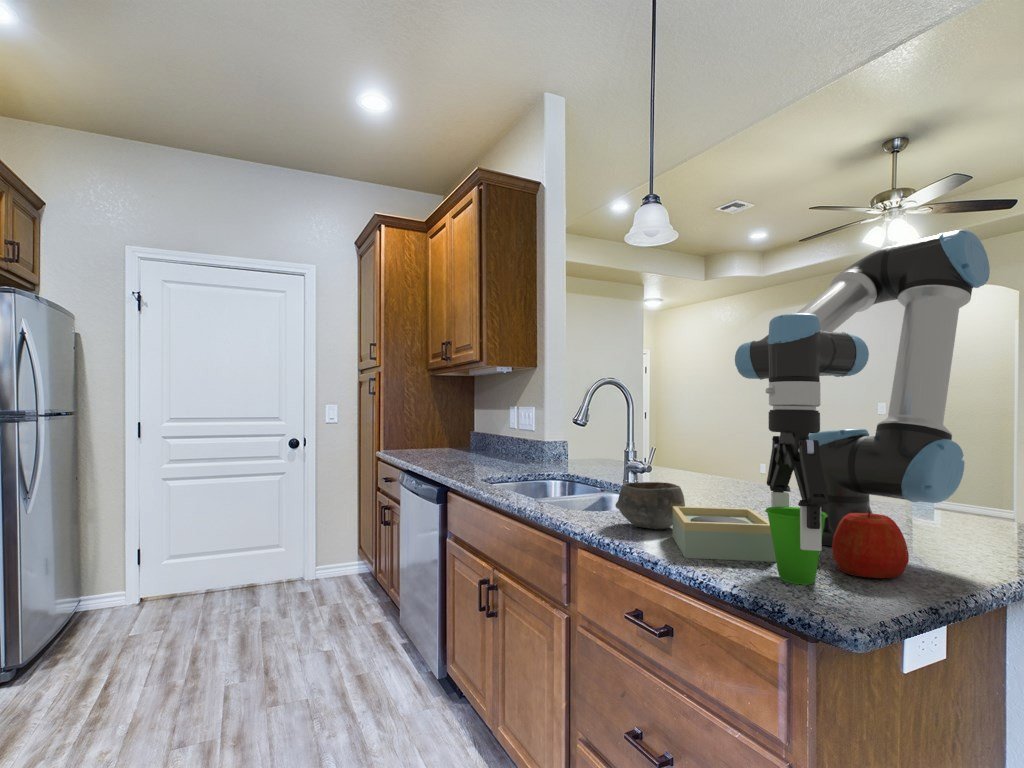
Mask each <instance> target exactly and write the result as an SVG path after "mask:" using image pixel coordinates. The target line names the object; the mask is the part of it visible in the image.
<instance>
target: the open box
mask: <svg viewBox="0 0 1024 768" xmlns="http://www.w3.org/2000/svg"><path fill="white" fill-rule="evenodd" d="M672 509H673V525H672V538H673V540H674V542H675V543H676V545H677V547H678V548H679V550H680V552H681V554H682V556H683V558H685V559H701V560H702V559H705V560H706V559H710V560H723V561H724V560H728V561H745V562H746V561H750V562H770V563H777V562H776V557H775V551H774V546H773V540H772V535H771V529H770V524H769V519H767V518H765V517H764V516H762V515H761V514H759V512H757V511H755V510H753V509H752V508H739V507H737V508H736V507H735V508H733V507H710V506H709V507H707V506H705V507H702V506H700V507H699V506H685V507H678V506H672Z"/></svg>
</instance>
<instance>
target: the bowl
mask: <svg viewBox="0 0 1024 768" xmlns="http://www.w3.org/2000/svg"><path fill="white" fill-rule="evenodd" d="M685 501H686V500H685V496H684V492H683V490H682V488H681V486H680V485H677V484H676V483H669V482H663V481H661V482H660V481H659V482H658V481H657V482H656V481H646V482H645V481H643V482H625V483H622V486H621V488H620V491H619V495H618V499H617V502H616V503H615V505H614V506H615V508H616V509H617V510H619V512H620V513H621V515H622V516H623V517H624V518H625V519H626V520H627V521H628V522H629V523H630V524H631V525H633V526H634V527H638V528H641V529H642V528H643V529H648V530H649V529H650V530H666V529H668V528H670V527H673V509H672V506H678V507H686V502H685Z"/></svg>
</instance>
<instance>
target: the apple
mask: <svg viewBox="0 0 1024 768" xmlns="http://www.w3.org/2000/svg"><path fill="white" fill-rule="evenodd" d="M831 550H832V551H831V552H832V558H833V561H834V562H835V564H836V565H837V567H838V568H839V570H840V571H841V572H843V573H845V574H847V575H850V576H851V575H852V576H854V577H862V578H868V579H892V578H898V577H899V576H900V575H902V574H904V572H905V570H906V568H907V566H908V564H909V558H910V557H909V556H910V555H909V549H908V544H907V542H906V539H905V537H904V535H903V533H902V530H901V529H900V527H899V525H898V524H897V523H896V521H894V520H893V519H892V518H891V517H889V516H887V515H885V514H878V513H873V512H872V513H870V511H868V513H849V514H847V515H846V516H844V517H843V518H842V519H841V521H840V522H839V524H838V527H837V529H836V531H835V534H834V536H833V543H832V546H831Z"/></svg>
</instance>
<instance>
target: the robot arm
mask: <svg viewBox="0 0 1024 768" xmlns="http://www.w3.org/2000/svg"><path fill="white" fill-rule="evenodd" d="M987 254H988V253H987V251H986V249H985V247H984V245H983V243H982V241H981V240H980V238H979V237H978V236H977V235H976V234H975V233H973V232H972V231H970V230H967V229H958V230H953V231H947V232H940V233H939V234H937V235H936V234H935V235H932V236H928V237H924V238H919V239H916V240H915V239H914V240H911V241H906V242H903V243H897V244H894V245H893V244H892V245H890V246H886V247H882V248H880V249H876V250H875V251H873V252H871V253H869V254H868V255H867V254H866V256H864V257H862V258H861V259H859V260H857V261H856V262H854V263H853V264H851V265H850V266H848V267H847V268H845V269H844V270H842V271H841V272H840V273H839V274H838V275H836V276H835V277H834V278H833V279H832V280H831V282H830V284H829V287H828V288H827V289H826V290H825V291H823V292H821V293H819V295H818V296H816V297H815V298H814V299H813V300H811V301H810V302H809V303H807V304H806V305H805V306H804V307H802V308H801V309H799V310H798V311H797V312H796V313H787V314H780V315H777V316H774V317H772V319H771V320H769V324H768V335H766V336H765V337H764V338H761V339H760V340H752V341H749V342H744V343H742V344H740V345H739V347H737V350H736V352H735V354H734V365H735V367H736V370H737V373H738V374H739V375H741V376H742V377H743V378H744V379H748V380H749V379H750V380H751V379H752V380H759V381H760V380H768V387H767V388H766V389H765V393H766V394H768V405H769V406H770V407H772V409H769V411H768V431H770V432H771V433H780V435H773V436H772V438H771V440H772V441H771V442H772V443H771V444H772V446H771V454H770V459H769V467H768V472H767V479H766V485H767V486H768V487H769V489H770V492H771V493H770V495H771V497H770V498H771V499H770V501H771V503H770V504H771V506H770V507H790V493H789V492H792V490H791V488H790V485H789V484H790V481H791V478H792V475H793V472H794V477H795V480H796V485H797V486H798V491H799V494H800V498H801V499H800V500H799V502H798V506H799V508H800V549H802V550H814V551H820V552H822V549H823V548H822V545H823V546H828V547H832V543H833V536H834V534H835V531H836V529H837V527H838V524H839V522H840V521H841V519H842V518H843V517H844V516H846V515H847V514H849V513H868V511H870V513H873V510H872V509H871V504H870V502H871V501H870V499H871V498H870V496H877V497H883V498H890V499H891V498H892V499H899V500H905V501H909V502H912V503H920V502H921V503H928V504H929V503H930V504H937V503H942V502H945V501H946V500H948V499H949V498H950V497H951V496H953V495H954V493H956V491H957V490H958V488H959V486H960V484H961V482H962V479H963V475H964V471H965V460H964V459H963V457H964V456H965V455H964V452H963V449H962V448H961V446H960V445H959V444H958V443H957V441H956V442H955V441H954V440H952V439H953V433H952V432H951V431H950V430H949V429H948V428H947V427H946V426H945V425H944V421H945V413H946V408H947V407H946V406H947V401H948V399H947V398H948V391H949V386H950V384H949V383H950V377H951V371H952V370H951V369H952V362H953V356H954V349H955V342H956V335H957V328H958V327H957V326H958V320H959V312H960V309H961V308H963V307H964V306H967V305H968V304H969V303H970V302H971V299H972V292H973V289H978V288H980V287H983V286H984V285H987V282H988V280H989V279H990V275H991V274H990V271H991V269H990V268H991V267H990V262H989V261H990V260H989V257H988V255H987ZM895 300H897V301H898V303H900V304H901V305H902V306H903V307H904V312H903V317H902V318H903V319H902V324H901V325H902V326H901V331H900V336H899V337H900V338H899V342H898V351H897V357H896V362H895V368H894V369H895V370H894V375H893V381H892V388H891V394H890V395H891V396H890V401H889V407H888V413H887V417H886V418H885V419H883V420H881V421H880V422H878V423H877V425H876V430H875V436H873V435H872V436H871V435H870V433H869V431H868V430H867V429H866V428H853V429H852V428H851V429H848V428H847V429H837V430H836V429H835V430H834V429H833V430H824V431H821V412H820V411H819V410H817V408H818V407H820V406H821V381H820V379H821V378H820V377H826V376H827V377H829V376H830V377H831V376H833V377H837V378H839V377H841V378H843V377H850V376H855V375H857V374H859V373H860V372H862V370H864V369H865V367H866V365H867V364H868V362H869V357H870V352H869V347H868V345H867V343H866V342H865V341H864V340H863V339H862V338H861V337H859V336H856V335H854V334H849V333H848V332H847V333H846V332H844V331H842V332H835V330H837V329H838V328H839V327H840V326H842V325H843V324H844V323H845V322H846V321H848V320H849V319H850V318H851V317H852V316H853V315H855V314H856V313H861V312H864V311H867V310H868V309H870V308H871V307H872V306H874V305H876V304H880V303H885V302H889V301H891V302H892V301H895ZM821 511H822V512H824V513H826V514H827V515H828V517H827V518H825V522H824V528H823V534H822V538H821Z"/></svg>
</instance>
